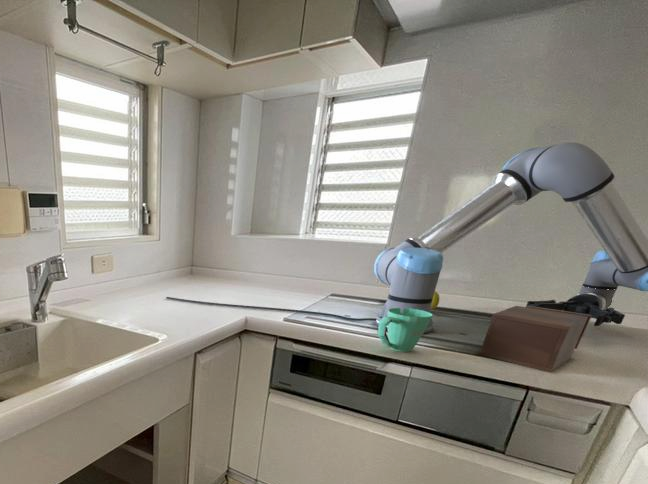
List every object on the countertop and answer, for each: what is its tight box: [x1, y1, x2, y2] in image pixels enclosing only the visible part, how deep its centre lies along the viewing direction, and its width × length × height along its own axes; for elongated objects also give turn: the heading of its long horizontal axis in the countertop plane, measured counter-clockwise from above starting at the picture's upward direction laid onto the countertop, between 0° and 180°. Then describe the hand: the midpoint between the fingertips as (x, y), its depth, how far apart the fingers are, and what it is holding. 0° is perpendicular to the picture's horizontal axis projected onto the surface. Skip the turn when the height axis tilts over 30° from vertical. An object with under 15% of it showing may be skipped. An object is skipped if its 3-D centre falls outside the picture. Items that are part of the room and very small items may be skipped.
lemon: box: [431, 290, 440, 311], centre depth 144 cm, size 6×6×8 cm
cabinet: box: [478, 305, 588, 372], centre depth 99 cm, size 16×14×11 cm
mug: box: [376, 308, 434, 353], centre depth 104 cm, size 15×10×10 cm
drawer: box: [527, 306, 592, 350], centre depth 105 cm, size 20×13×9 cm, turn 124°
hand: (563, 315), depth 111 cm, fingers open, 13 cm apart
